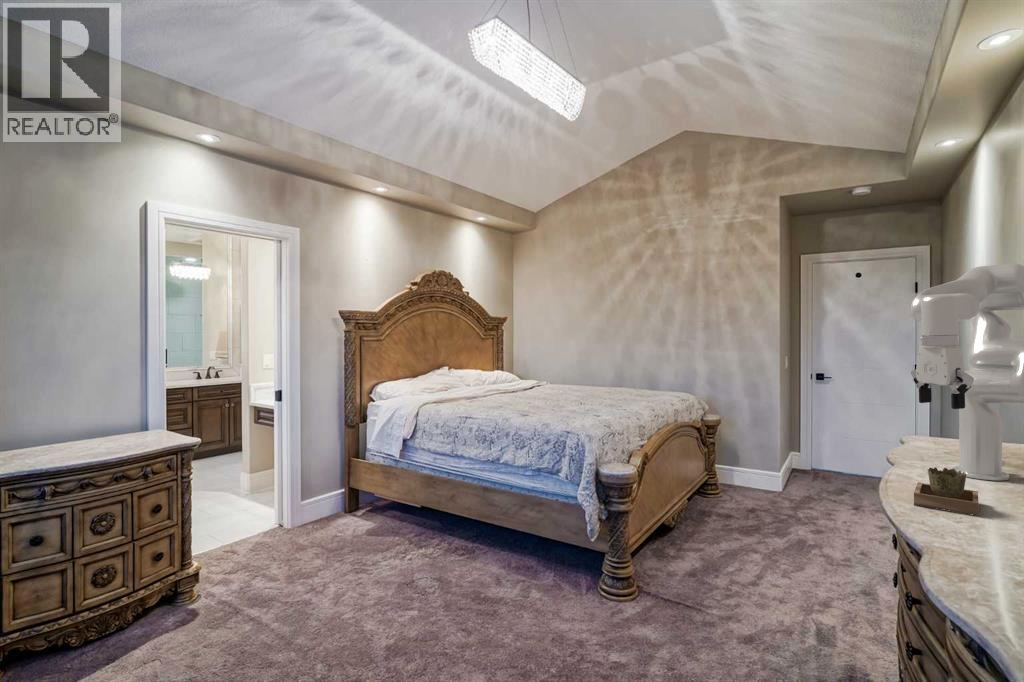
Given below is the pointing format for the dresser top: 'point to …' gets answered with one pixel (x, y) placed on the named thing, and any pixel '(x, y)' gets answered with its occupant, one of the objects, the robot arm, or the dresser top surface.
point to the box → (946, 500)
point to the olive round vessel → (947, 482)
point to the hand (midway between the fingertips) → (941, 405)
